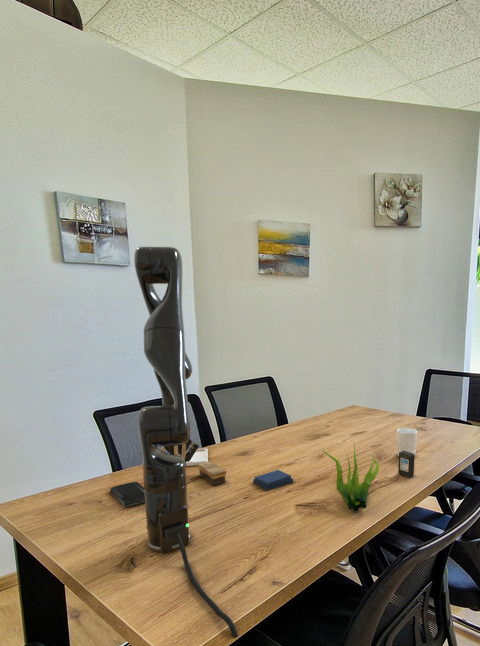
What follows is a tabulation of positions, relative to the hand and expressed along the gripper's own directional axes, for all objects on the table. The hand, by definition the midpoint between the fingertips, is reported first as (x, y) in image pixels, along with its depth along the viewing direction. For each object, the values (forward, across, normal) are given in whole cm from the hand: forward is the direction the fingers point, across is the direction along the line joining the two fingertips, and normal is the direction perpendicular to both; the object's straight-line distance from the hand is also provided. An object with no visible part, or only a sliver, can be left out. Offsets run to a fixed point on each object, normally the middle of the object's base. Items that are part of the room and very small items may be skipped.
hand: (179, 475), depth 134 cm
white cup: (+4, +77, -26) cm, 81 cm away
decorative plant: (+4, +38, -35) cm, 52 cm away
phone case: (+4, +14, +22) cm, 26 cm away
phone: (+4, -14, +3) cm, 14 cm away
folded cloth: (+4, +24, -15) cm, 29 cm away
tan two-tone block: (+4, +10, 0) cm, 11 cm away
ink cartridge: (+4, +62, -38) cm, 73 cm away
